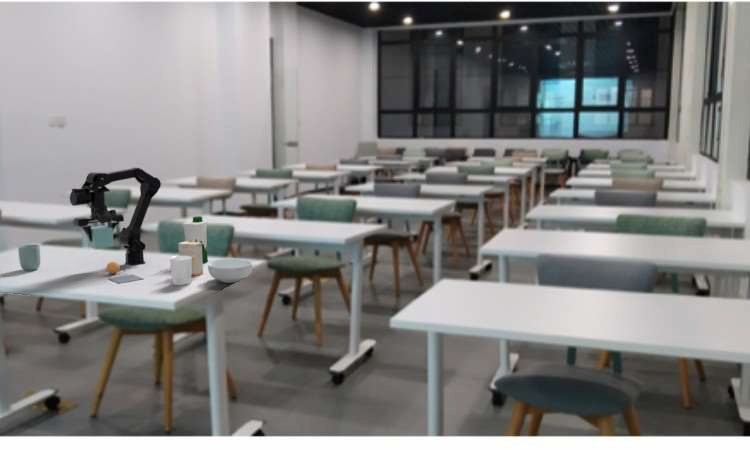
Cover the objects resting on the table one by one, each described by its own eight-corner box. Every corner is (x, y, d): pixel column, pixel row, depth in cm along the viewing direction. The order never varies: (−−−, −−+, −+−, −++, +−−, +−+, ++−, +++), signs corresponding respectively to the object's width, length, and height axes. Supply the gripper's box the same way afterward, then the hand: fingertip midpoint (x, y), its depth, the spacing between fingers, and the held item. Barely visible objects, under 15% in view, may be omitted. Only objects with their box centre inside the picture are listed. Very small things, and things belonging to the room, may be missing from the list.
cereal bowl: (209, 287, 247) (208, 268, 246) (207, 276, 262) (207, 259, 261) (254, 284, 251) (254, 266, 250) (250, 274, 267) (250, 257, 266)
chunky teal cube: (106, 243, 278) (104, 225, 277) (113, 246, 273) (112, 227, 272) (88, 246, 273) (86, 227, 272) (95, 248, 268) (94, 230, 267)
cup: (45, 267, 277) (43, 244, 276) (34, 272, 270) (32, 248, 268) (27, 267, 278) (25, 244, 276) (16, 271, 270) (14, 247, 269)
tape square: (132, 274, 265) (132, 274, 265) (143, 279, 258) (143, 278, 258) (108, 278, 258) (108, 278, 258) (118, 283, 251) (118, 283, 251)
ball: (117, 271, 270) (116, 260, 270) (122, 273, 267) (121, 261, 266) (104, 273, 267) (104, 261, 266) (109, 275, 263) (109, 263, 263)
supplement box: (203, 273, 268) (202, 242, 266) (196, 276, 263) (195, 244, 261) (186, 271, 271) (185, 240, 268) (179, 274, 266) (178, 242, 264)
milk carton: (210, 261, 290) (209, 216, 287) (198, 265, 282) (196, 219, 279) (194, 259, 294) (192, 215, 290) (181, 263, 285) (179, 218, 282)
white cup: (173, 280, 256) (172, 255, 254) (194, 280, 256) (193, 255, 255) (169, 285, 248) (168, 260, 246) (190, 285, 249) (189, 259, 247)
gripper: (82, 207, 258) (85, 246, 261) (128, 202, 271) (130, 239, 274) (71, 204, 266) (74, 242, 268) (116, 200, 279) (119, 236, 281)
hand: (100, 240), depth 273 cm, fingers closed on chunky teal cube, 8 cm apart
